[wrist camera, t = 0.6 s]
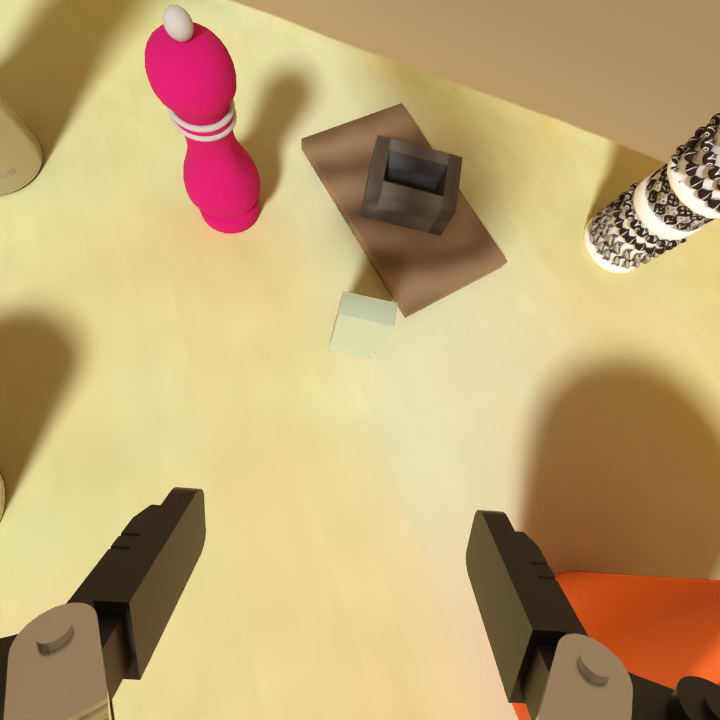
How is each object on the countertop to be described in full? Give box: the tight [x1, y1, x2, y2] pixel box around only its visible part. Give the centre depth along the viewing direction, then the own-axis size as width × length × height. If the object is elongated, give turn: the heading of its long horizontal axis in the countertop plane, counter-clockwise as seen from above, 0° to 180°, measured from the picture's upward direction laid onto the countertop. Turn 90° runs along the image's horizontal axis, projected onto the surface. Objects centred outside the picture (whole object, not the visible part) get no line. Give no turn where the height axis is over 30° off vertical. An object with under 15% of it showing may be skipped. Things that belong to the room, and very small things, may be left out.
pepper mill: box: [145, 5, 260, 233], centre depth 33 cm, size 7×7×20 cm
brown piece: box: [302, 103, 507, 318], centre depth 43 cm, size 14×24×6 cm, turn 30°
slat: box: [329, 291, 398, 359], centre depth 36 cm, size 4×2×11 cm, turn 80°
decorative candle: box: [583, 113, 720, 273], centre depth 38 cm, size 9×9×25 cm
